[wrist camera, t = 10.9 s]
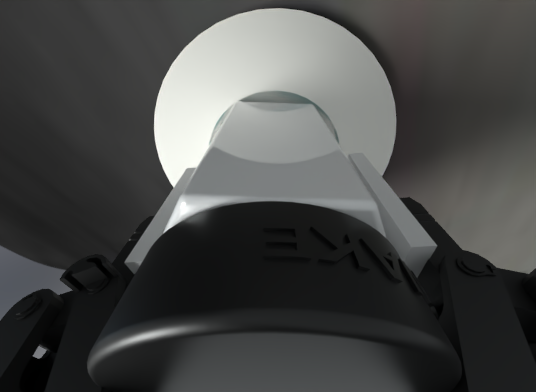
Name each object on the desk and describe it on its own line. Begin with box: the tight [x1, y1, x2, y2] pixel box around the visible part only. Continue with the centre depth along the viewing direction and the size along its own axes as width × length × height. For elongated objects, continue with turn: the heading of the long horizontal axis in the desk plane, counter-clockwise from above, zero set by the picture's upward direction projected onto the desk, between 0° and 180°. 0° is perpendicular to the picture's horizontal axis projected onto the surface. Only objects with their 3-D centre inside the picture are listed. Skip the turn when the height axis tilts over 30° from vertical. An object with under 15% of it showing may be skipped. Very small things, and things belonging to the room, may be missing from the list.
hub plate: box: [154, 8, 396, 187], centre depth 15 cm, size 16×16×1 cm
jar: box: [87, 101, 462, 392], centre depth 10 cm, size 9×8×12 cm
